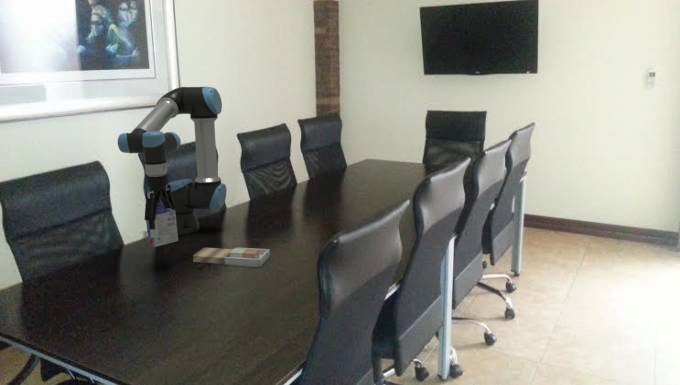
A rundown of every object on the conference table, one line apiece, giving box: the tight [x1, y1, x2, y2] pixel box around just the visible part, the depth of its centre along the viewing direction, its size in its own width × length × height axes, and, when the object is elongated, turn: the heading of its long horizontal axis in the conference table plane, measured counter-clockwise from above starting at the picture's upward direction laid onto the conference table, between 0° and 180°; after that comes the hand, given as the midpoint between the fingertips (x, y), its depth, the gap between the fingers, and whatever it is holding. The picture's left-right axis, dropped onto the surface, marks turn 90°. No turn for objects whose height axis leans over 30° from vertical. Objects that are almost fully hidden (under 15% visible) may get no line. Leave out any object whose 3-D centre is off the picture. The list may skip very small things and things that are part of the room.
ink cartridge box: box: [145, 203, 179, 248], centre depth 206 cm, size 10×6×14 cm, turn 134°
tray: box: [224, 246, 271, 268], centre depth 215 cm, size 14×12×3 cm
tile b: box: [242, 249, 259, 259], centre depth 215 cm, size 5×5×3 cm
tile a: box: [230, 247, 246, 258], centre depth 216 cm, size 5×5×3 cm
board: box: [192, 247, 234, 265], centre depth 218 cm, size 13×10×2 cm
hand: (162, 232), depth 207 cm, fingers closed on ink cartridge box, 11 cm apart
